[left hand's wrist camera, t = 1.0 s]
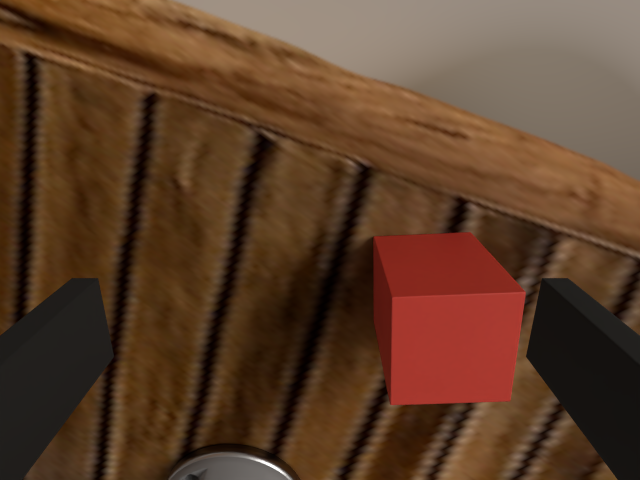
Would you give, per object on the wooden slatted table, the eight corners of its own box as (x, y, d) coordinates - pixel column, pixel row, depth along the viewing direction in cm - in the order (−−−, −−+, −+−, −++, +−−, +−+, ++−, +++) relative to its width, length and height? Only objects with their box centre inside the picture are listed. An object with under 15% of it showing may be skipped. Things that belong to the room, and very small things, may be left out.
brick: (470, 232, 35) (526, 292, 26) (463, 318, 38) (510, 401, 29) (373, 236, 36) (391, 297, 26) (373, 322, 39) (390, 405, 29)
